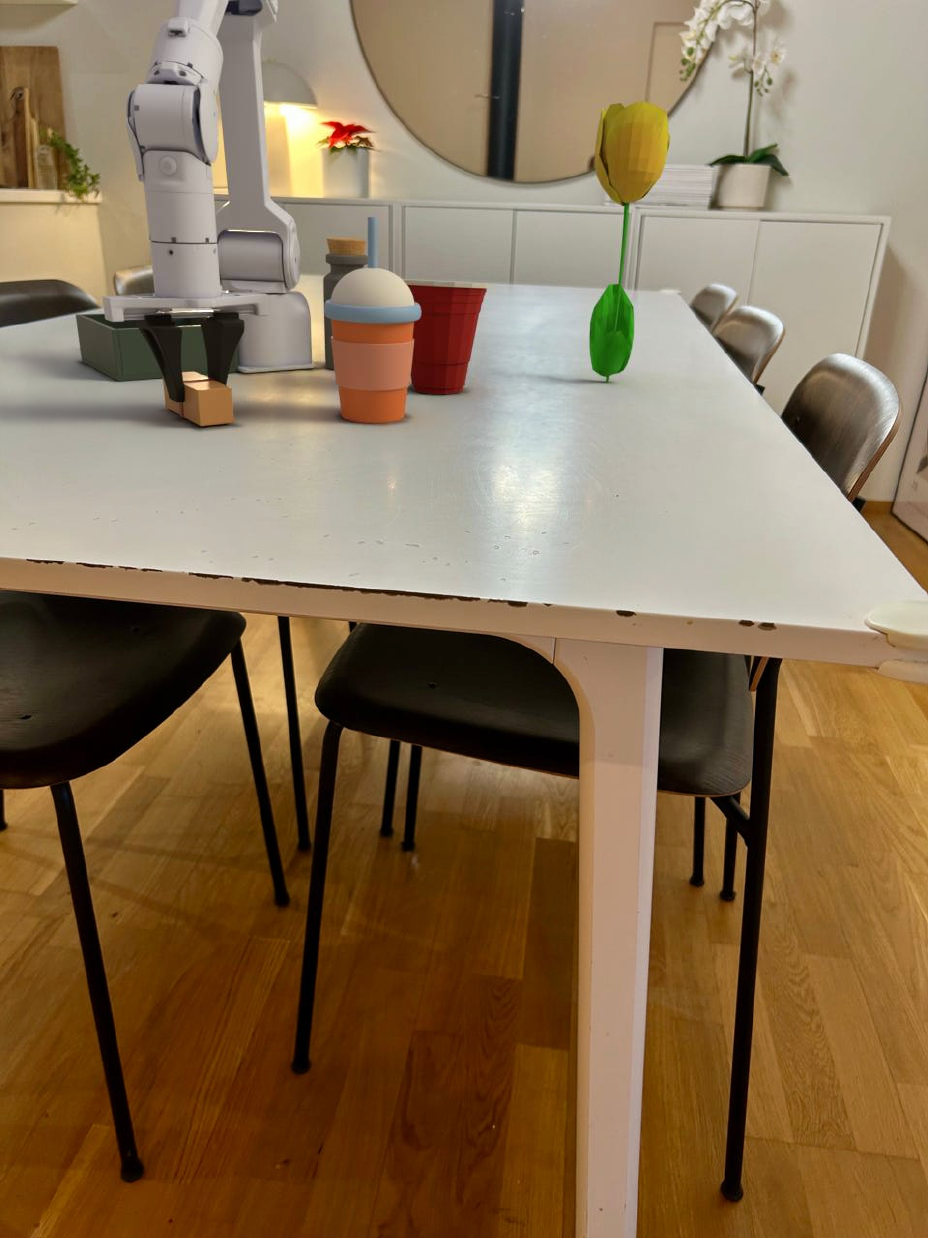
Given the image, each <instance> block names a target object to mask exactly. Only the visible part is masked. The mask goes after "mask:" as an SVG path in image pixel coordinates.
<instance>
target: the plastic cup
mask: <svg viewBox="0 0 928 1238" xmlns="http://www.w3.org/2000/svg"><path fill="white" fill-rule="evenodd" d="M402 280H403V281H404V282H405V283H406V285H407V286H408V287H409V289H410V291H411V293H412V296H413V299H414V302H416V303H418V304H419V305H420V307H421V317H420V319H419V320H417V321H414V327H413V337H412V338H413V339H414V347H413V357H412V366H411V376H410V383H411V385H412V389H413V391H414V392H416V393H417V392H418V393H423V394H429V395H430V394H431V395H453V394H459V393H462V392H463V390H464V386H465V383H466V380H467V373H468V370H469V369H468V368H469V363H470V361H471V357H472V352H473V348H474V347H473V346H474V342H475V337H476V332H477V327H478V321H479V316H480V313H481V310H482V305H483V303H484V300H485V296H486V294H487V291H488V289H490V287H491V284H490V283H481V282H461V281H445V280H444V281H441V280H440V281H439V280H421V279H420V280H419V279H402Z"/></svg>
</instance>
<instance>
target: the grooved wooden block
mask: <svg viewBox="0 0 928 1238" xmlns="http://www.w3.org/2000/svg"><path fill="white" fill-rule="evenodd" d="M182 376H183V384H184V402H175V401H173V400H171V399H170V398H169V394H168V390H167V387H166V384H165V380H164V378H162V383H163V392H164V403H165V408H166V409H169V411H172V412H174V413H176V414H178V415H179V417H180V418H181V419H187V420H188V421H190V422H192V423H194V424H196V425H198V426H200V427H205V426H214V425H224V424H233V423H234V422H235V420H234V406H233V390H232V387H231V386H228V385H224V384H222V383H219V382H217V381H215V379H214V378H212V377H210V378H208V376H206V375H201V374H199V373H197V372H194V371H193V372H182Z"/></svg>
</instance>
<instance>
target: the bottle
mask: <svg viewBox="0 0 928 1238" xmlns="http://www.w3.org/2000/svg"><path fill="white" fill-rule="evenodd" d="M326 242H327V243H326V244H327V248H328V252H329V253H326V254H325V256H324V257H325V259H324V260H325V263H326V264H329V266H330V270H329V271H330V272H328V273H327V274H325V275H324V277H323V278H322V288H323V290H322V293H323V294H322V295H323V297H322V298H323V300H322V301H323V305H324V304H325V302H326V301H327V300H330V299H331V297H332V293H333V290H334V288H335V287H336V285H337V284H338V282H339V281H340V280H341V279H342V278H343V277H344V276H345V275H347V274H348V273H350V272H352V271H354V270H357V269H361V268H365V267H364V266H366V265H368V254H367V255H366V254H365V251H366V250H365V249H366V244H367V239H365V238H357V237H327V238H326ZM323 334H324V336H323V337H324V338H323V339H324V362H325V363H324V364H325V368H327V369H329V370H334V360H333V351H332V342H331V337H332V336H333V333H332V323H331V319H330V318H328V317H326V316H325V314H324V313H323Z"/></svg>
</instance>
